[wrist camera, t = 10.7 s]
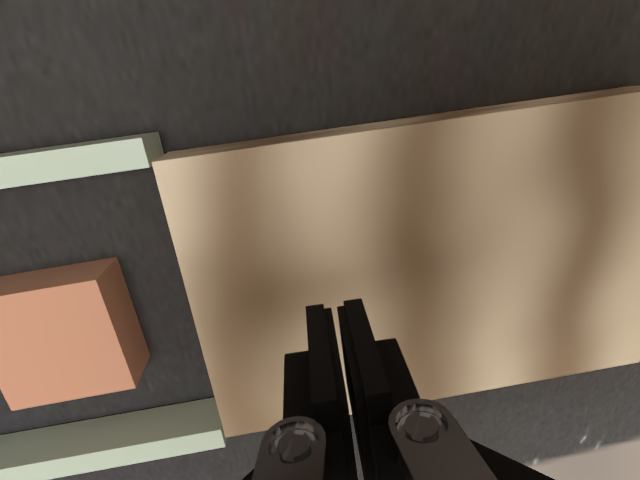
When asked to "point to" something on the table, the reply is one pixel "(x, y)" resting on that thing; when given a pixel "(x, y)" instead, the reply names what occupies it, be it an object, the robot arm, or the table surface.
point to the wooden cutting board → (417, 245)
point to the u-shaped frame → (116, 430)
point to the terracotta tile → (68, 334)
